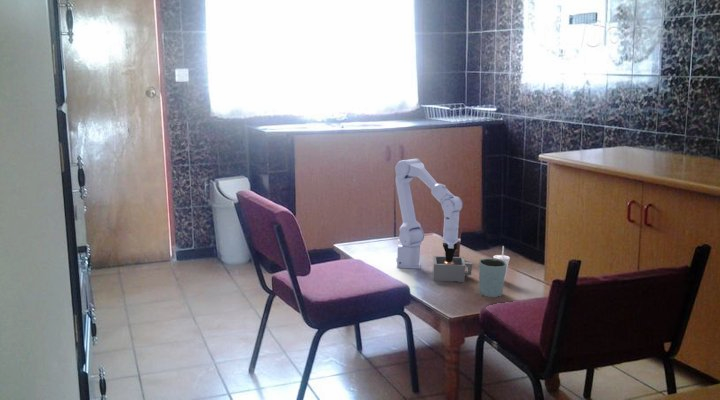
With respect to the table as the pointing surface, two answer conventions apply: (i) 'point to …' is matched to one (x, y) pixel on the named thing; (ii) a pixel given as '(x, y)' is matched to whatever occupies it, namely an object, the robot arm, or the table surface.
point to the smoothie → (503, 259)
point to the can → (458, 243)
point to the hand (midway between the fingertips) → (448, 261)
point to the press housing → (450, 269)
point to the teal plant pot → (491, 277)
